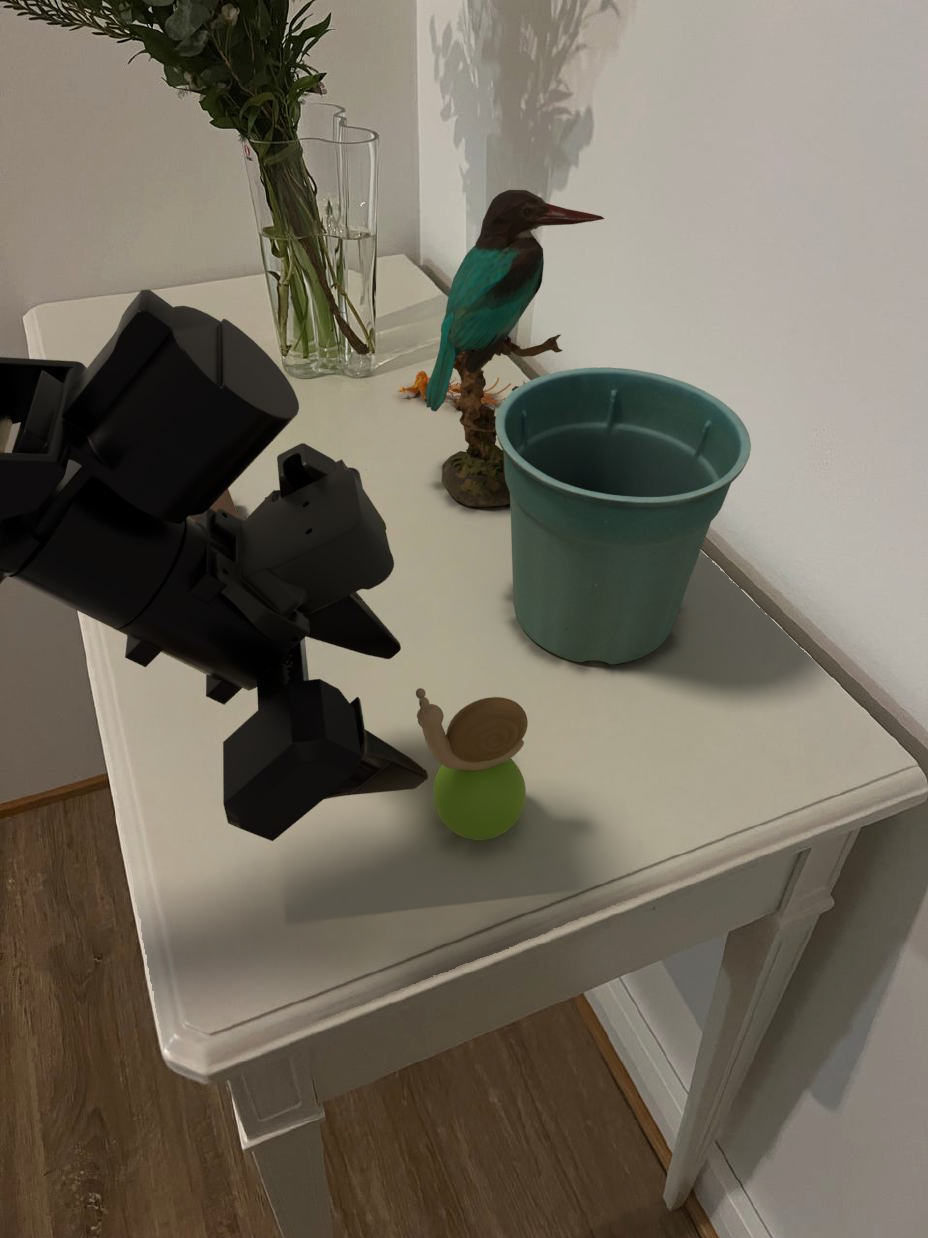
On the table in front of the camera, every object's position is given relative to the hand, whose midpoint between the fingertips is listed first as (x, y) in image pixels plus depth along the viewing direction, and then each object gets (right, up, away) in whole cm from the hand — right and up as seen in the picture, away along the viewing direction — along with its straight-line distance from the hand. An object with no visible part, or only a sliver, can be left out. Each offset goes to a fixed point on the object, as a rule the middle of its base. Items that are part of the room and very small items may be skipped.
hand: (407, 712), depth 49 cm
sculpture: (+6, +17, +35) cm, 40 cm away
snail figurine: (+3, -8, +8) cm, 11 cm away
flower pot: (+13, +5, +22) cm, 26 cm away
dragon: (+2, +27, +46) cm, 53 cm away
